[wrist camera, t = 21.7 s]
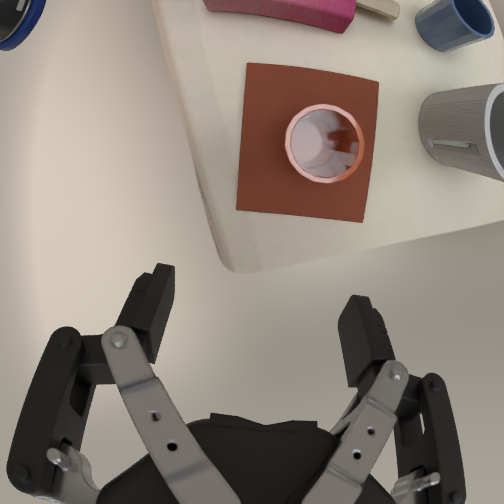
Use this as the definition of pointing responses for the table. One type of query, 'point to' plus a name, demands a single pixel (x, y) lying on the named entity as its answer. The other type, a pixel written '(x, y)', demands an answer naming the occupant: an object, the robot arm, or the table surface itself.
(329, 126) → the terracotta tumbler
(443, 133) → the cup
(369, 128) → the clay mat
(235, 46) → the table surface
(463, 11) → the blue tumbler
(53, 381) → the robot arm
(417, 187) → the table surface
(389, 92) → the table surface
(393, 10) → the popsicle
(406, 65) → the table surface
